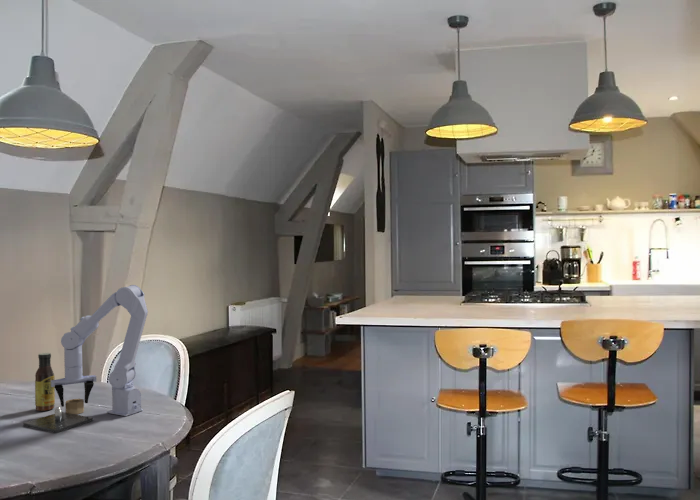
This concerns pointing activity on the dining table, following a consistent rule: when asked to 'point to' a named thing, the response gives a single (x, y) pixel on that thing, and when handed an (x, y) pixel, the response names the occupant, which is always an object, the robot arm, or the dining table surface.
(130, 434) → the dining table surface
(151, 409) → the dining table surface
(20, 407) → the dining table surface
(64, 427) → the hub
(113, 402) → the robot arm
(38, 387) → the sauce bottle
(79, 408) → the ring
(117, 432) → the dining table surface
